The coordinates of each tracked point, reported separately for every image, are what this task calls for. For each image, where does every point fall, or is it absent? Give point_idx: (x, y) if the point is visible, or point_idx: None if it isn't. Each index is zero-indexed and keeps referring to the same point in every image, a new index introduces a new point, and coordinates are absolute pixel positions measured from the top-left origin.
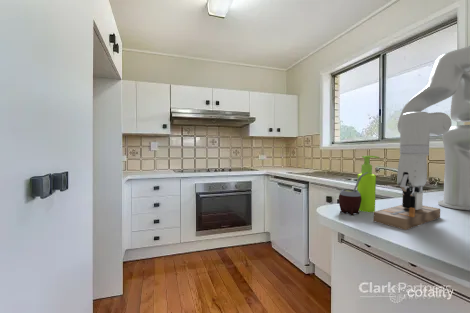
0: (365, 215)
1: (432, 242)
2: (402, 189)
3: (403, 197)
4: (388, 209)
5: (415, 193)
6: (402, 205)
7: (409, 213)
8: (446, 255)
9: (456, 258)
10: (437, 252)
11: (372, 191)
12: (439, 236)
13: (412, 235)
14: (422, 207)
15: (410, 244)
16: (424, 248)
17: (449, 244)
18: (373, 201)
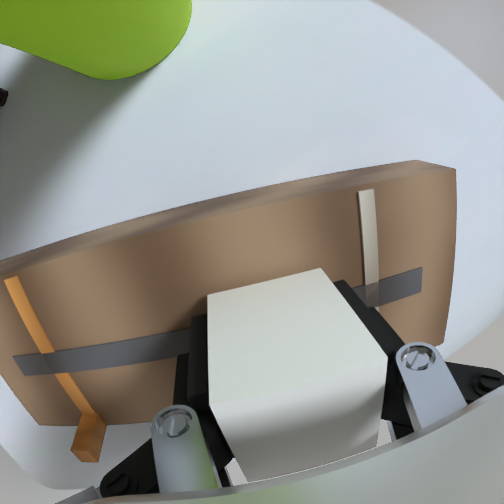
0: (10, 149)
1: (65, 454)
2: (83, 495)
3: (189, 379)
4: (62, 280)
5: (275, 465)
6: (208, 304)
7: (78, 426)
8: (47, 475)
9: (56, 483)
10: (38, 467)
11: (13, 36)
12: (125, 450)
13: None
14: (394, 304)
15: (6, 435)
16: (24, 453)
17: (100, 471)
18: (94, 57)
